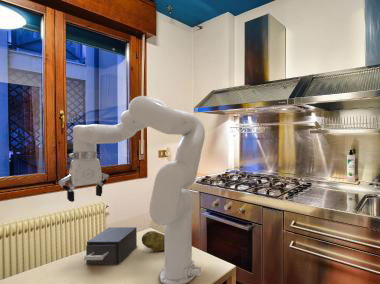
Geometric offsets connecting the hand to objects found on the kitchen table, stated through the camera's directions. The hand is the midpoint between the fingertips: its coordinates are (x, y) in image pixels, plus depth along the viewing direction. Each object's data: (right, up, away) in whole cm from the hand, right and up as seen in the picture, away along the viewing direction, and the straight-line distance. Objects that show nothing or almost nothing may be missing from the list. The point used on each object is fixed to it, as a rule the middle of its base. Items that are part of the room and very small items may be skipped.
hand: (85, 198), depth 91 cm
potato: (+24, -26, +11) cm, 37 cm away
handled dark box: (+8, -25, +2) cm, 26 cm away
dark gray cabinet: (+8, -26, +6) cm, 28 cm away
